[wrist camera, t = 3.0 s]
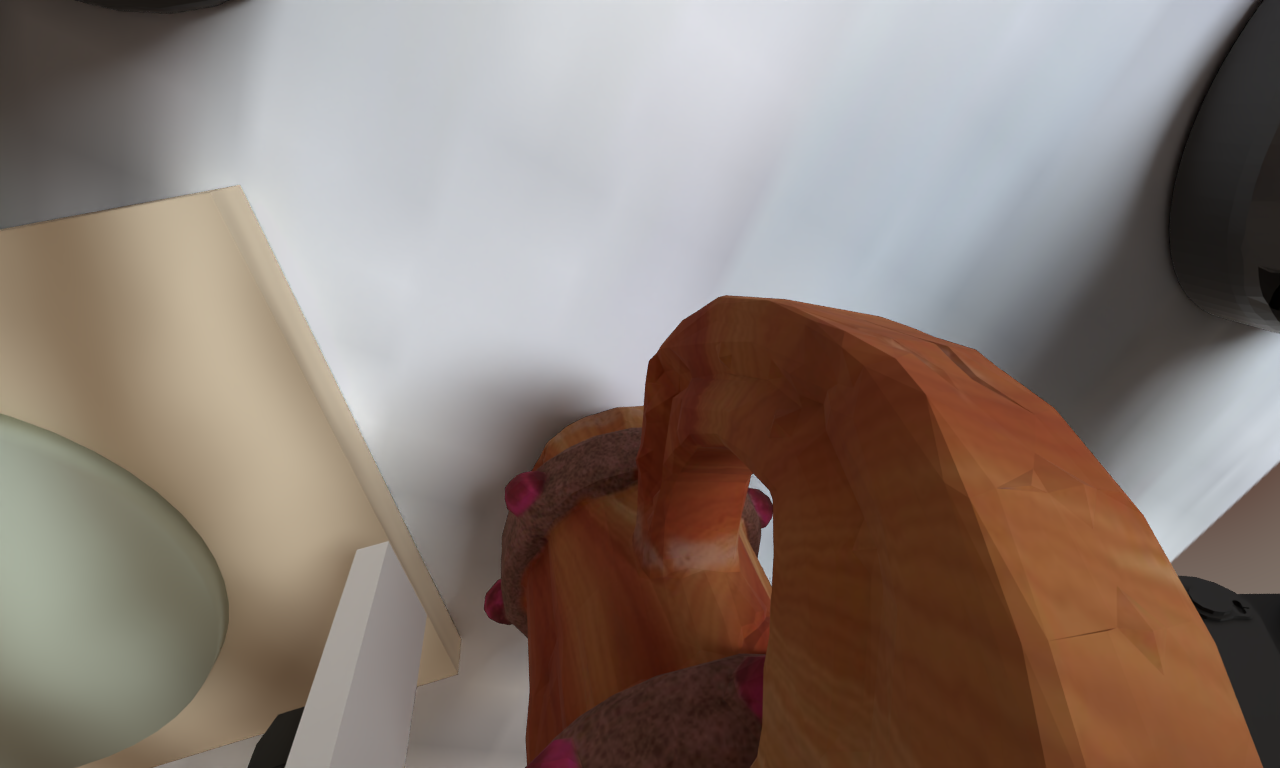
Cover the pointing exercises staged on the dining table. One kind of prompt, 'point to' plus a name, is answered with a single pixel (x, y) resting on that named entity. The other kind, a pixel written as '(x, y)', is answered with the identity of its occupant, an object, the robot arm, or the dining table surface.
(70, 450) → the serving board
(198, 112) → the dining table surface
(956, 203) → the dining table surface
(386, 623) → the robot arm
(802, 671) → the mug
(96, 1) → the french press
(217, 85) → the dining table surface
